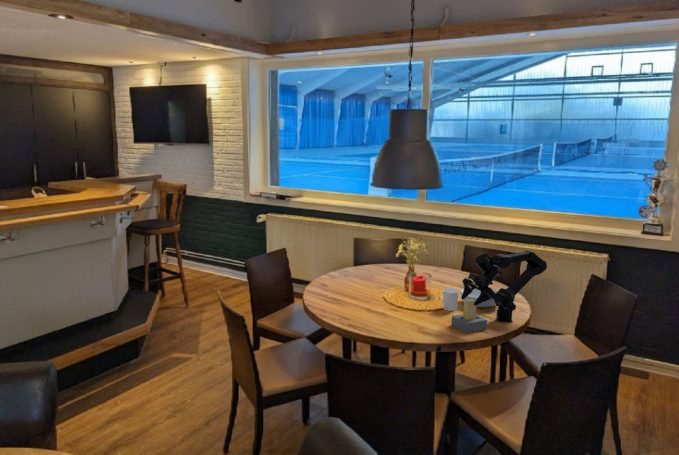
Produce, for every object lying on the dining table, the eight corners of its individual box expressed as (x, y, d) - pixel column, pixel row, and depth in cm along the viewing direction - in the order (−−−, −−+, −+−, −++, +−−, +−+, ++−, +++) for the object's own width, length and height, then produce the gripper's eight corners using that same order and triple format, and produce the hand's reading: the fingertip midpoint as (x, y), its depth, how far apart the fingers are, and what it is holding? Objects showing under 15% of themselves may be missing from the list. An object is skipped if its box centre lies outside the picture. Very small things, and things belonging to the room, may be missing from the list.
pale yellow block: (471, 324, 249) (472, 299, 246) (475, 327, 246) (476, 301, 243) (462, 326, 246) (464, 300, 244) (466, 328, 244) (468, 302, 241)
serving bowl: (499, 300, 285) (500, 288, 283) (500, 313, 265) (501, 300, 264) (460, 296, 290) (461, 284, 289) (459, 309, 270) (459, 296, 269)
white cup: (450, 312, 265) (451, 294, 263) (439, 308, 271) (439, 290, 269) (460, 309, 269) (461, 291, 267) (449, 305, 275) (450, 287, 274)
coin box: (471, 321, 254) (471, 312, 253) (486, 328, 244) (487, 319, 243) (451, 324, 248) (451, 315, 248) (466, 332, 239) (466, 323, 238)
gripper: (466, 261, 250) (446, 286, 248) (492, 271, 234) (471, 298, 231) (478, 275, 255) (458, 299, 253) (505, 286, 239) (484, 312, 236)
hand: (467, 302), depth 243 cm, fingers open, 9 cm apart
